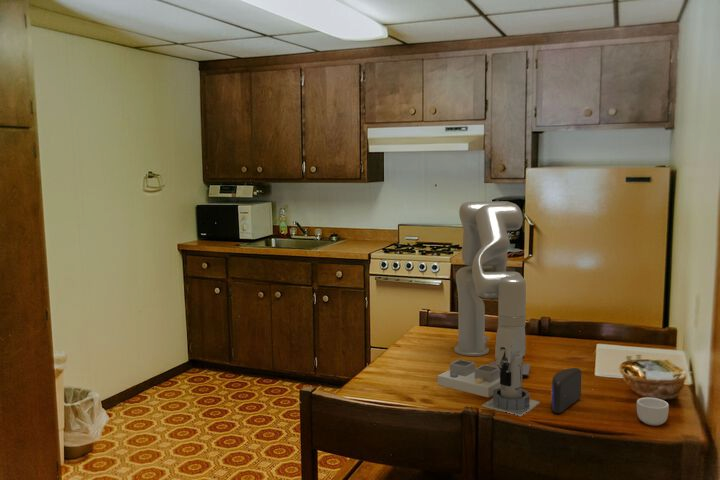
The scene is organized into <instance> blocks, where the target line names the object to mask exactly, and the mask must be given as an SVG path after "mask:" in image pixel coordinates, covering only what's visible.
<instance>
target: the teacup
mask: <svg viewBox="0 0 720 480" xmlns="http://www.w3.org/2000/svg"><path fill="white" fill-rule="evenodd" d="M669 407H670V405H669V403H668V402H667V401H665V400H664V399H661V398H657V397H650V396H649V397H647V396H646V397H641V398H638V399H637V400H636V414H637V417H638V418H639V420H640V421H641V422H643V424H646V425H649V426H660V425H663V424H664V423H665V422H666V421H667V420H668V415H669V409H670V408H669Z"/></svg>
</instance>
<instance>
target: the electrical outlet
mask: <svg viewBox="0 0 720 480" xmlns="http://www.w3.org/2000/svg"><path fill="white" fill-rule="evenodd" d="M488 365H494V366H498V365H497V364H496V361H492V360H491V361H490V362H489V364H488ZM530 367H531V364H530V363H523V368H522V377H525V378H526V377H528V376H529V375H530V369H531V368H530ZM498 368H499V367H498Z"/></svg>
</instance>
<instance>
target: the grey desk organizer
mask: <svg viewBox="0 0 720 480" xmlns="http://www.w3.org/2000/svg"><path fill="white" fill-rule="evenodd" d="M484 366H487V367H491V368H496V369H495V370H493V371H492V372H488V371H484V370H479V369H480V368H482V367H484ZM437 385H438V386H441V387H445V388H449V389H453V390H457V391H460V392H465V393H467V394H468V393H469V394H473V395H476V396H480V397H485V398H490V397H493V391H494V390H495V389H497V388H501V384H500V371H499V368H498V366H494V365H489V364H482V365H480V366H478V367H476V362H474V361H469V360H465V359H457V360H454V361H452V362H450V363H449V370H446V371H445V372H443V373H440V374H438V375H437Z"/></svg>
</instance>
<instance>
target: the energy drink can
mask: <svg viewBox="0 0 720 480" xmlns="http://www.w3.org/2000/svg"><path fill="white" fill-rule="evenodd" d="M520 351H521V350H520ZM520 351H518V353H517V355H516V357H515V359H514V361H513V362H511V368H510V372H511V386H505V385H501V396H502V397H506V398H522V389H523V376H522V368H523V364H524V358H523V355H522V353H521V352H520ZM504 360H505V361H508V359H507V358H504ZM507 364H508V363H504V365H506V367H507Z"/></svg>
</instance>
